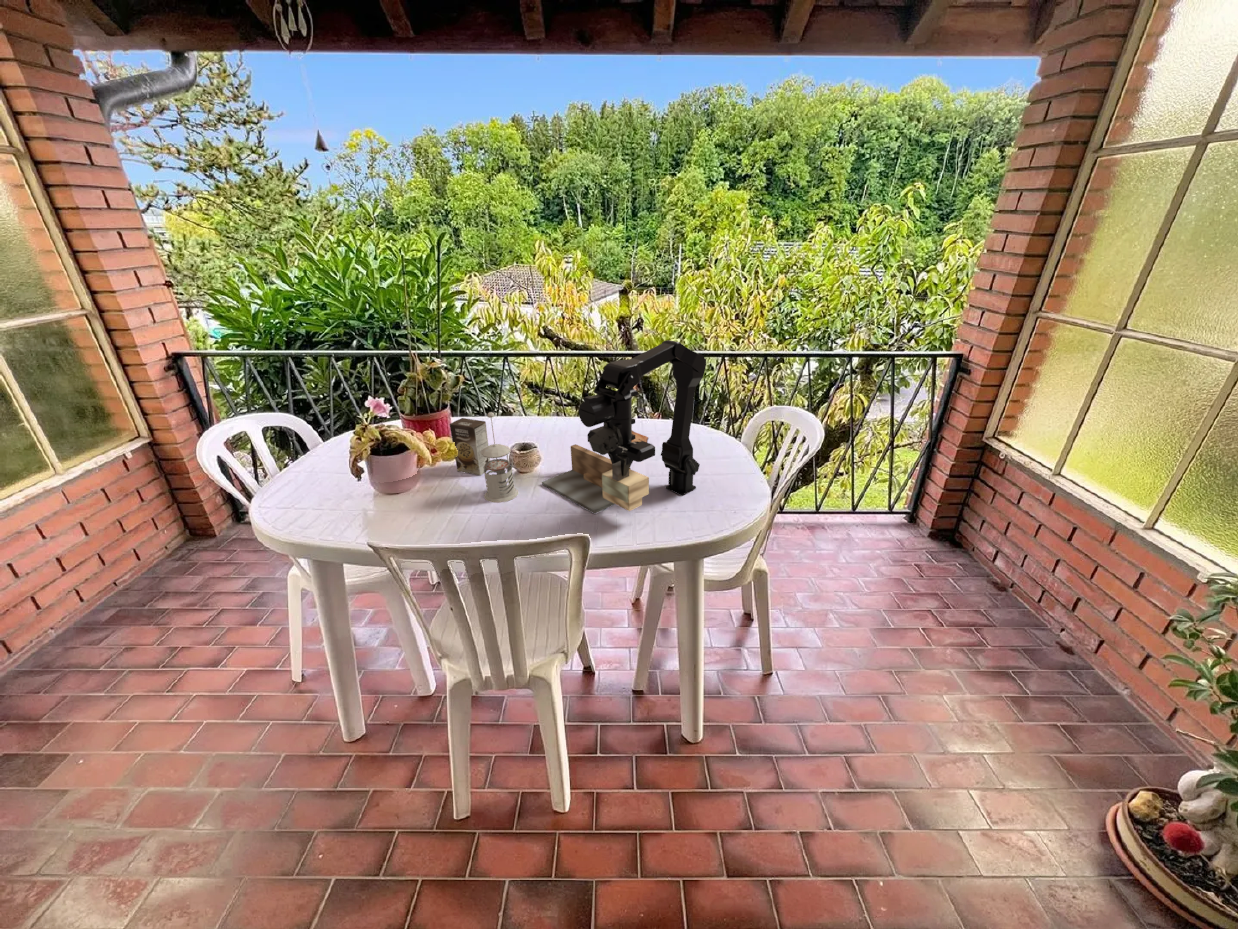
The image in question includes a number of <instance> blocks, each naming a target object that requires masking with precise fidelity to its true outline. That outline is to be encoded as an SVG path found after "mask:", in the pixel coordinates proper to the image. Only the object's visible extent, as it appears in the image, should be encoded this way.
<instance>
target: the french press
mask: <svg viewBox="0 0 1238 929" xmlns="http://www.w3.org/2000/svg"><path fill="white" fill-rule="evenodd" d="M494 417H495V413H494V412H492V411H489V412H488V413H487V418H490V421H491V422H490V423H491V428H492V438H493V444H489V445H488V447H486V448H484V449H483V450H482V451H481V454H482V455H483V456H484V457H486V458H490V461H488V462H487V463H486V464H485V469H484V473H483V475H484V480H485V486H486V492H485V494H484V496H483V498H484V499H485V500H486V501H487V502H490V503H497V504H498V503H499V504H500V503H506V502H509V501H512V500H513V499H515V498H517V497H518V495H519V490H518V489H517V488H515V480H514V474H513V465H514V458H513V454H512V451H511V448H510V447H509V446H507V445H505V444H501V443H496V441H495V433H494V426H493V418H494ZM509 454H510V455H511V461H510V460H509ZM505 456H506V458H502V457H505ZM487 470H488V471H487ZM491 473H492V474H491ZM494 473H495V474H494Z"/></svg>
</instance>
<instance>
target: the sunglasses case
mask: <svg viewBox="0 0 1238 929" xmlns="http://www.w3.org/2000/svg"><path fill="white" fill-rule="evenodd" d="M632 434H634V435H635V439H634V440H632V442H635V443H638V442H641V441H644V442H647V443H648V440H649V436H647V435H643V434H641V433H638V432H636V431H634V430H632Z"/></svg>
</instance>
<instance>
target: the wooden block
mask: <svg viewBox="0 0 1238 929" xmlns="http://www.w3.org/2000/svg"><path fill="white" fill-rule="evenodd" d="M649 488H650V477H649V476H647V475H644V474H642V473H640V472H638V471H635V470H633V469H629V470H628V472H627V474H626V476H622V472H621V461H619V462H617V463H614V464H612V470H610V471H607V472H605V473H603V474H602V491H603V498H604V499H606V500H608V501H610V502H612V503H614V505H617V506H618V507H620V508H622V509H625V510H627V511H628V512H631V511H633V510H635V509H637V508H639V507H642V505H643V498H644V497H646V496H647V495H649V494H650V492H649V491H650V489H649Z"/></svg>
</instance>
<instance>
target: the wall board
mask: <svg viewBox="0 0 1238 929" xmlns="http://www.w3.org/2000/svg"><path fill="white" fill-rule="evenodd" d="M570 456H571V469H570V470H568V471H565V472H563V473H560V474H558V475H555V476H552V477H550V478H548V479H545V480H543V481H541V485H542V486H543V487H545V488H547V489H549V490H550V491H553V492H555V493H556V494H558V495H560V496H561V497H563V498H564V499H565V498H566V499H567V500H569V501H570V502H572V503H574V504H575V505H578V506H580V507H582V508H583V509H585V510H587V511H589V512H591V513H592V512H593V513H592V514H594V515H596V514H598V513H600V512H602V511H604V510H606V509H608V508H610V507H612V506H614V505H615V504H614V503H612V502H610V501H608V500H606V499H604V498H603V491H602V474H603V473H605V472H607V471H610V470H612V462H611V460H610V457H607V456H605V455H601V454H600V453H598V452H594V451H593V450H590V449H588V448H585V447H584V446H580V445H578V444H573V445H570ZM629 469H631V467H630V468H629ZM631 470H632V469H631Z"/></svg>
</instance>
